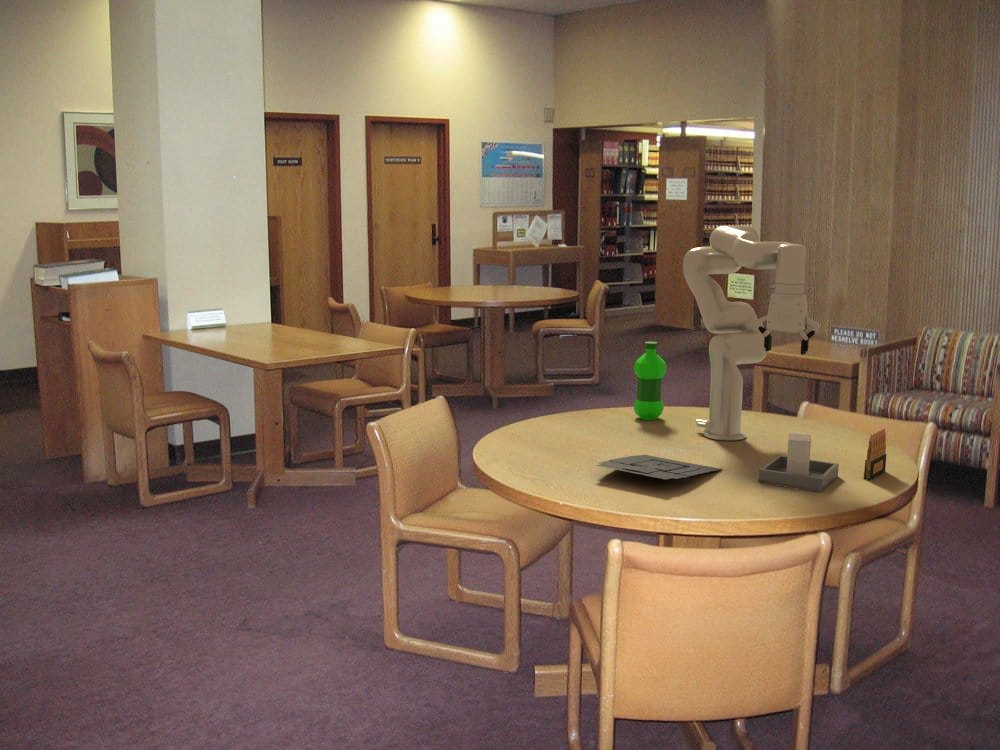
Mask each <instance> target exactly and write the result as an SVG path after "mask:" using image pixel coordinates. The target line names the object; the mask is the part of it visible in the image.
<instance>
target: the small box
mask: <svg viewBox="0 0 1000 750" xmlns="http://www.w3.org/2000/svg"><path fill="white" fill-rule="evenodd" d="M811 437H812V436H811V434H804V433H791V432H790V433H788V440H787V441H788V442H787V455H786V456H787V473H793V474H799V475H806V476H809V462H810V460H811V446H812V445H811V444H812V443H811V441H812V438H811Z"/></svg>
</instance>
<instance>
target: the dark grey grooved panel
mask: <svg viewBox="0 0 1000 750" xmlns="http://www.w3.org/2000/svg"><path fill="white" fill-rule="evenodd" d="M594 466H596V467H600V468H606V469H612V470H616V471H621V472H625V473H626V472H627V473H632V474H637V475H643V476H646V477H651V478H657V479H661V480H670V479H675V480H677V479H681V478H689V477H692V476H696V475H700V474H705V473H709V472H717V471H721V470H722V468H720V467H714V466H707V465H704V464H703V465H702V464H698V463H697V464H696V463H691V462H685V461H680V460H675V459H670V458H665V457H660V456H655V455H648V454H641V455H630V456H629V455H628V456H623V457H618V458H613V459H608V460H604V461H602V462H597V464H596V465H595V464H594Z"/></svg>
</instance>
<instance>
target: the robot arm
mask: <svg viewBox="0 0 1000 750" xmlns="http://www.w3.org/2000/svg"><path fill="white" fill-rule="evenodd" d="M709 244H710V246H700V247H695V248H691V249H690V250H688V251H687V252H686V254H685V255H684V257H683V261H682V271H683V272H682V273H683V277H684V280H685V281H686V284H687V285H688V287H689V289H690V290H691V292H692V294H693V296H694V298H695V301H696V304H697V307H698V309H699V312H700V315H701V318H702V320H703V324H704V327H705V328H706V330H707V331H708V332H710V333H711V334H716V335H714V336H713V337H712V338H711V339H710V341H709V344H708V355H709V363H710V393H709V412H708V413H709V415H708V417H709V418H708V419H706V420H704V419H700V418H697V419H696V421H695V425H696V426H697V427H699V428H704V430H703V433H702V435H703V436H704V437H706V438H708V439H711V440H716V441H740V440H744V439H745V438H746V435H747V434H746V432H744V431H743V430H741V427H742V426H741V425H742V410H743V409H742V407H743V406H742V405H743V387H744V379H743V374H742V373H741V372H740V370H739V368H738V365H742V364H743V365H744V364H745V365H747V364H758V363H760V362H762V361H763V360H765V358H766V356H767V353H768V352H769V351H771V350H772V341H773V339H772V338H773V337H772V335H771V334H772V333H773V332H778V333H791V334H793V333H794V334H800V336H801V337H802V340H801V341H800V355H801V356H804V355H806V354H807V352H808V351H809V344H810V343H809V342H810V341H809V340H810V339H811V338H812V337H814V336H815V335H816V334H817V332H818V330H819V328H820V327H821V324H820V323H819V322H817V321H815V320H813V319H812V318H810V317H809V316H808V303H807V296H806V295H804V292H805V277H806V261H807V260H806V259H807V247H806V246H805V245H804V244H801V243H800V244H799V243H791V242H788V241H760V236H759V233H758V232H757V229H755V228H754V227H752V226H751V225H721V226H718V227H716V228H715V229H714V230H713V231H712V232H711V233H710V236H709ZM742 267H744V268H746V269H750V270H775V282H774V284H770V285H769V289H770V290H772V291H773V292H774V293H772V294H771V296H770V300H769V304H768V309H767V314H766V315H764V316H762V317H760V318H758V316H757V314H756V311H755V310H754V308H753V307H752V306H751V304H749V303H747V302H745V301H744V302H743V301H729V300H727V298H726V295H725V294H724V291H723V289H722V287H721V286H720V284H719V283H718V282H717V281H716V280H715V279H714V278H712V277H711V276H710V275H730V274H734V273H736V272H738V271H739V270H740V269H741V268H742ZM765 321H766V327H765V326H764V324H763V323H764V322H765ZM808 325H810V326H812V328H811V330H810V331H809V332H808V331H807V329H808V328H807V327H808Z"/></svg>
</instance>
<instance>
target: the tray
mask: <svg viewBox="0 0 1000 750" xmlns="http://www.w3.org/2000/svg"><path fill="white" fill-rule="evenodd" d="M839 466H840V463H836V462H830V461H824V460H823V461H822V460H817V459H816V460H814V459H810V462H809V476H806V475H799V474H793V473H787V455H780V454H778V455H776V456H775V457H774V458H773V459H771V460H769V462H767V463H766V464H764V465H763V466H762V467H760V469H759V470H758V484H759V483H760V484H763V483H764V485H770V484H771V486H776V485H779V486H778V487H783V486H785V487H784V488H789V487H791V488H790V489H795V488H798V489H797V490H802V489H805V490H804V491H808V490H811V491H810V492H815V491H818V492H817V493H821V492H822V491H823V490H824V489H825V488H826V487H827V486H828V485H829V486H830V485H831V484H832V483H833V482H834V481H835V480H836V479H837V478H838V477H839V469H840V468H839ZM829 486H828V487H829ZM828 487H827V488H828ZM827 488H826V489H827ZM826 489H825V490H826ZM825 490H824V491H825ZM824 491H823V492H824ZM823 492H822V493H823Z"/></svg>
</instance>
